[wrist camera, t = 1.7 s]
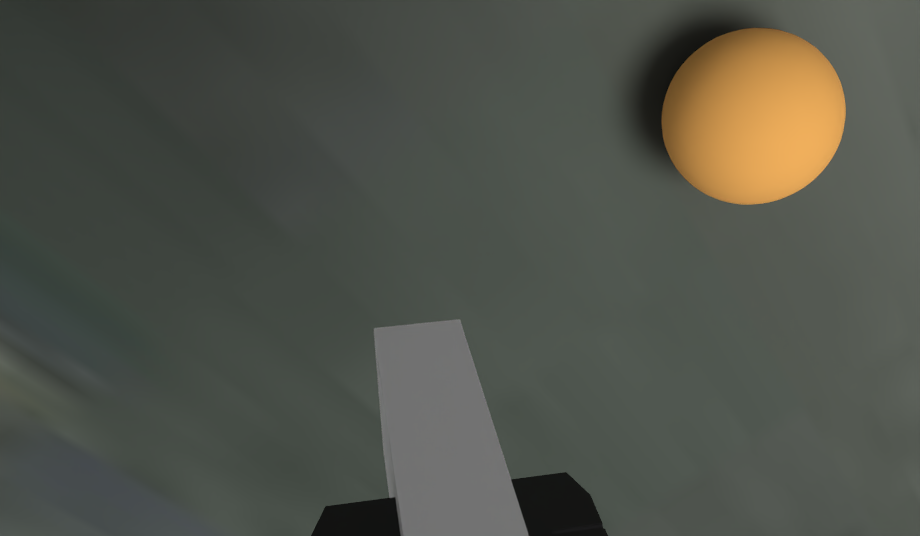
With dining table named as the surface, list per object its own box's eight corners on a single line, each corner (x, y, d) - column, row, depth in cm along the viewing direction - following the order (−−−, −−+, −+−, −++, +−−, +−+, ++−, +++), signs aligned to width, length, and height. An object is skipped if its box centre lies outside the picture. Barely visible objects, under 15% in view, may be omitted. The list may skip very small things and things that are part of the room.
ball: (644, 15, 28) (716, 59, 23) (801, 6, 28) (903, 46, 24) (631, 173, 30) (693, 241, 25) (775, 160, 31) (862, 224, 26)
